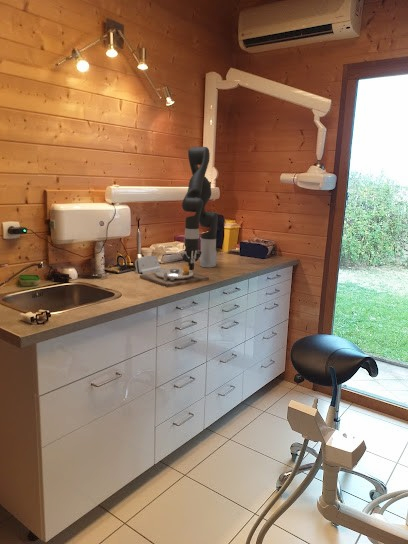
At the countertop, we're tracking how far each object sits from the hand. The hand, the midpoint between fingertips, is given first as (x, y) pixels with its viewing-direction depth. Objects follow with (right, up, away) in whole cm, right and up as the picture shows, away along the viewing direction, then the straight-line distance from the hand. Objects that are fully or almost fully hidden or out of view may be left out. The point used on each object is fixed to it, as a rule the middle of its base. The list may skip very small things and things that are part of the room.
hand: (191, 269), depth 221 cm
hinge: (-25, -1, +20) cm, 32 cm away
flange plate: (-9, -3, +2) cm, 10 cm away
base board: (-9, -5, +4) cm, 11 cm away
